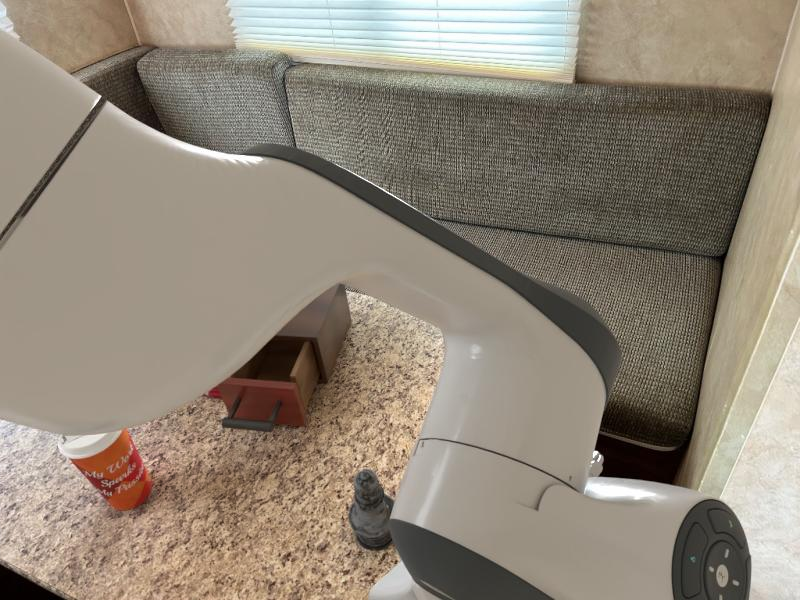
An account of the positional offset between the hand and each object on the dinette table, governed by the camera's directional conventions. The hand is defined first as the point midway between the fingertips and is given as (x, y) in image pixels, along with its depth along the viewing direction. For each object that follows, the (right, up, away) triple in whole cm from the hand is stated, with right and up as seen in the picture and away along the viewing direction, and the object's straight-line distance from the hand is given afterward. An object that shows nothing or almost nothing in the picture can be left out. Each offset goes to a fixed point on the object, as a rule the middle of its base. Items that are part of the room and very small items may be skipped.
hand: (440, 523), depth 55 cm
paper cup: (-40, -5, +26) cm, 48 cm away
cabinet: (-19, +13, +45) cm, 50 cm away
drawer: (-22, +5, +35) cm, 41 cm away
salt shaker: (-6, -8, +18) cm, 21 cm away
